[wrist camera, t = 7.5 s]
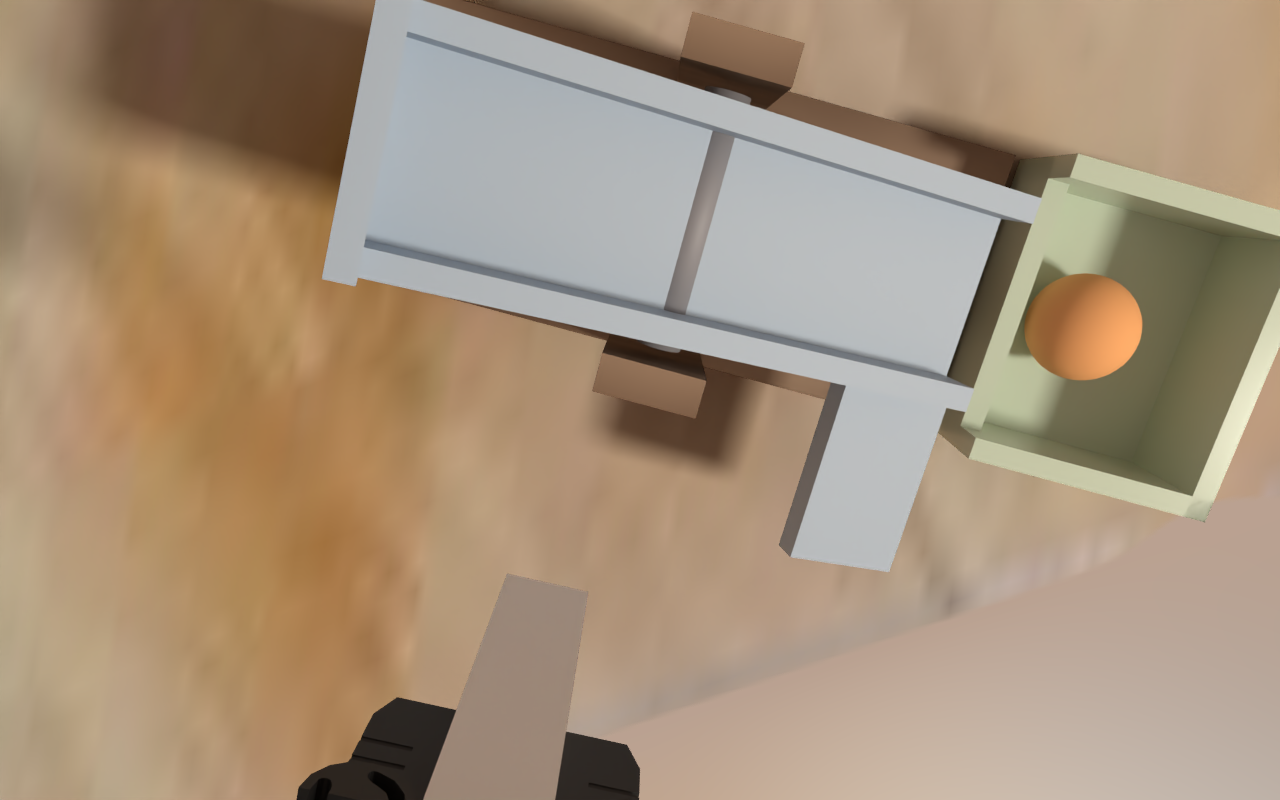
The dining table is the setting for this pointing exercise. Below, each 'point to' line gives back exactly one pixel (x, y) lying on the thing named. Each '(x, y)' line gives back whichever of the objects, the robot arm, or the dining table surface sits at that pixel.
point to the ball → (1083, 326)
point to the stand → (765, 77)
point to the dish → (1167, 351)
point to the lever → (676, 238)
